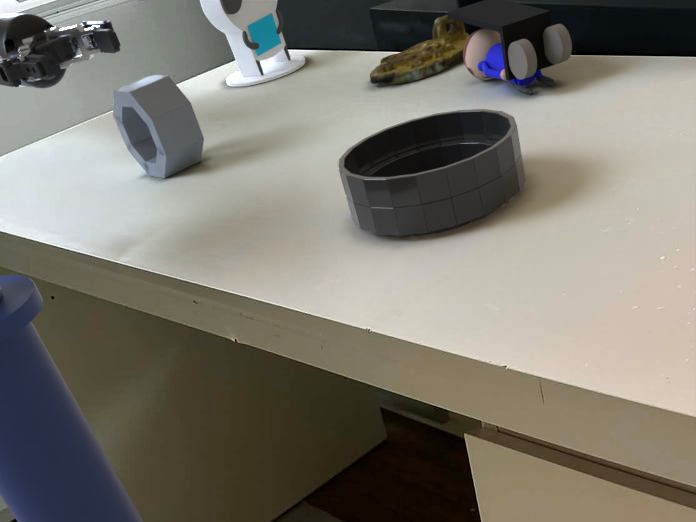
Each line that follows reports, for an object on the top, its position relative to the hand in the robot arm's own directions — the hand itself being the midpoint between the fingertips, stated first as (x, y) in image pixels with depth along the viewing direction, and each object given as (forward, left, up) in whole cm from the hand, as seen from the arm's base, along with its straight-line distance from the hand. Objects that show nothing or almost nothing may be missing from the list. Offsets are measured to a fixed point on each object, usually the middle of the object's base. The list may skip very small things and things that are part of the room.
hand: (81, 54), depth 104 cm
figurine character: (+41, -22, -11) cm, 48 cm away
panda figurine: (+22, +21, -11) cm, 33 cm away
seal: (+37, -3, -11) cm, 39 cm away
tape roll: (+4, -10, -11) cm, 16 cm away
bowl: (+22, -48, -11) cm, 54 cm away
